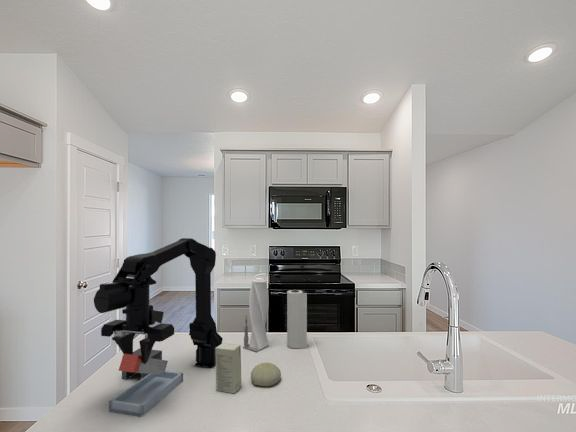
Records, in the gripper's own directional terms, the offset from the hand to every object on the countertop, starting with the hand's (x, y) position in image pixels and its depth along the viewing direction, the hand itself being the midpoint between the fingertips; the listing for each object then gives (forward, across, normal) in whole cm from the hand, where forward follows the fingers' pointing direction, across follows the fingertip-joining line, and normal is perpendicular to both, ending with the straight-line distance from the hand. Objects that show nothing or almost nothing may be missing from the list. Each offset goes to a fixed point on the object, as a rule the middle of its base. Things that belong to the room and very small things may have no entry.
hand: (137, 362), depth 86 cm
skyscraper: (+12, -18, -45) cm, 50 cm away
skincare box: (+11, -20, -13) cm, 27 cm away
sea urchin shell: (+11, -29, -20) cm, 37 cm away
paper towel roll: (+12, -32, -49) cm, 60 cm away
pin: (+4, 0, -2) cm, 5 cm away
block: (+11, +10, -14) cm, 20 cm away
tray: (+11, 0, -4) cm, 12 cm away
